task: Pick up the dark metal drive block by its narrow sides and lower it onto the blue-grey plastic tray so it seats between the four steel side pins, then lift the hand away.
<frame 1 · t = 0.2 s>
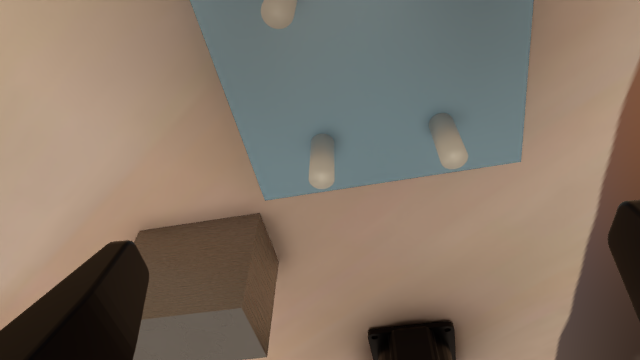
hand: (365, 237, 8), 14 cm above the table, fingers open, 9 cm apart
drive block: (211, 246, 29), on the table
pin tray: (368, 54, 21), on the table
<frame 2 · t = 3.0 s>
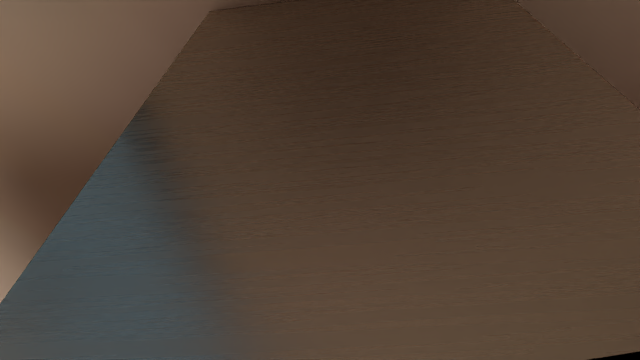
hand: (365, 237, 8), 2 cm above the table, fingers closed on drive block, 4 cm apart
drive block: (361, 186, 10), on the table, touching gripper
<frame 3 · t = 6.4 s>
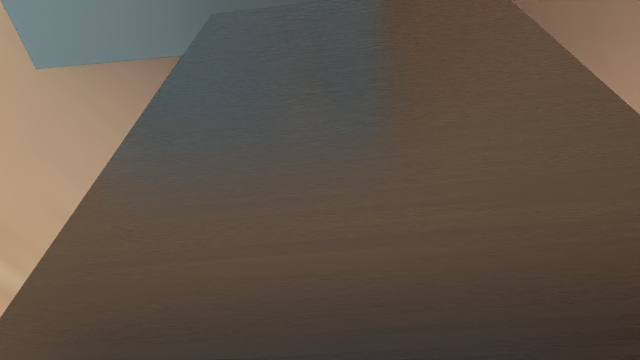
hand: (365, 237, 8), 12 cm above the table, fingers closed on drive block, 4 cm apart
drive block: (362, 188, 10), point 11 cm above the table, touching gripper
when the fingers open (3 cm above the table, at t = 10.0 s): drive block stays where it is, resting on pin tray.
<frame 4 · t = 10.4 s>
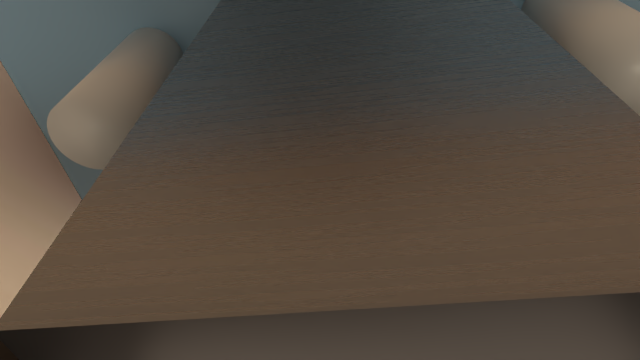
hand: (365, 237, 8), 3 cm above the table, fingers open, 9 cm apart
drive block: (359, 163, 10), point 1 cm above the table, touching pin tray
pin tray: (355, 138, 11), on the table
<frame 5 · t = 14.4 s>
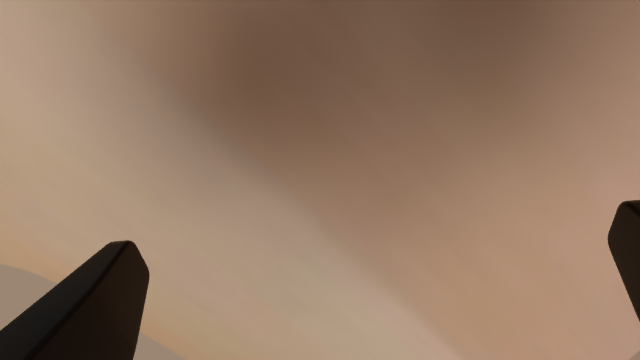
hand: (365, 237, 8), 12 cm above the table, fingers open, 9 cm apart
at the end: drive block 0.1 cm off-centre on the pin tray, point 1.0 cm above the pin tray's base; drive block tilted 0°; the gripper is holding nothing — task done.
